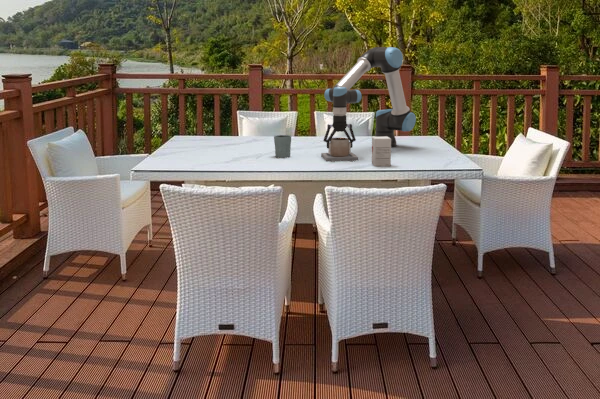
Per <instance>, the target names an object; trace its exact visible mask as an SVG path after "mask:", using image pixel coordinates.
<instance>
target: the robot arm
mask: <svg viewBox="0 0 600 399" xmlns="http://www.w3.org/2000/svg"><path fill="white" fill-rule="evenodd" d="M403 60H404V56H403V53H402V51H401V50H400V49H399V48H398V47H392V46H387V47H386V46H382V47H380V46H379V47H376V46H375V47H372V48H370V49H368V50H366V51H365V52H364V53H363V54H362V55H360V57H358V58H357V62H356V63H355V64H354V65H353V66H352V67H351V68H350V69H349V70H348V71H347V72H346V73H345V74H344V76H343V77H342V78H340V80H339V81H338V82H337V83H336V84H335V85H334V86H333V87H332V88H326V90H325V91H324V94H323V95H324V99H325V101H327V102H331V103H332V104H333V107H332V114H333V115H332V123H331V124H329V123H328V124H327V126H326V127H327V129H326V131H325V134H324V137H323V142H324V143H326V149H327V150H328V152H327V153H328V154H331V143H330V140H331V139H332V138H334V136H335V134H336V133H338V132H339V133H340V132H343V133H344V134H345V136H346V138H348V139H349V154H351V150H352V148H353V143H354V142H356V141H357V140H356V137H355V133H354V130H353V124H352V123H349V124H348V123H347V105H348V104H356V103H359V102H361V100H362V93H361V91H360V90H359V89H351V88H352V87H353V86H354V85H355V84H356V83H357V82H358V81H359V80H360V79H361V78H362V76H363V75H364V74H365V73H366V72H369V71H371V69H373V68H380V71H381V73H383V74H384V77H385V81H386V84H387V89H388V94H389V98H390V103H391V107H392V108H388V109H379V110H377V111H376V113H375V133H374V134H375V135H374V137H385V136H388V137H389V138H391V148H394V147H397V139H396V136H395V131H400V132H410V131H412V130H413V129H414V127H415V125H416V122H417V117H416V115H415V113H414V112H411V110H410V109H411V108H410V107H409V106H407V103H406V102H407V101H406V97H405V93H404V88H403V85H402V84H403V83H402V79H401V74H400V70H401V68H402V64H403ZM332 128H333V130H332V131H331V129H332ZM346 128H348V129H349V132H350V134H349V133H348V131H347V129H346ZM330 131H331V133H330ZM329 134H330V135H329ZM350 135H351V136H350Z"/></svg>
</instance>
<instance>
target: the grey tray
mask: <svg viewBox="0 0 600 399" xmlns="http://www.w3.org/2000/svg"><path fill="white" fill-rule="evenodd" d="M320 157H321V159H323V160H324V161H325V162H330V163H335V162H353V161H354V162H355V161H356V160H358V161H359V156H357V155H356V154H354V153H353V152H351V154H349V155H348V156H346V157H334V156H331V155H330V154H328V152H321V153H320ZM356 162H357V161H356Z"/></svg>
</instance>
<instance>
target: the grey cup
mask: <svg viewBox="0 0 600 399" xmlns="http://www.w3.org/2000/svg"><path fill="white" fill-rule="evenodd" d="M273 140H274V149H275V150H274V155H275V158H278V157H279V159H282V158H284V159H286V158H287V157H288V158H290V157H291V145H292V135H289V134H288V135H287V134H286V135H285V134H279V135H274V136H273Z"/></svg>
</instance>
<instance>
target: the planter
mask: <svg viewBox="0 0 600 399" xmlns="http://www.w3.org/2000/svg"><path fill="white" fill-rule="evenodd" d="M349 142H350V141H349V139H348V138H347V137H332V139H331V140H330V143H331V154H330V155H331V156H334V157H346V156H348V155H349Z"/></svg>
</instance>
